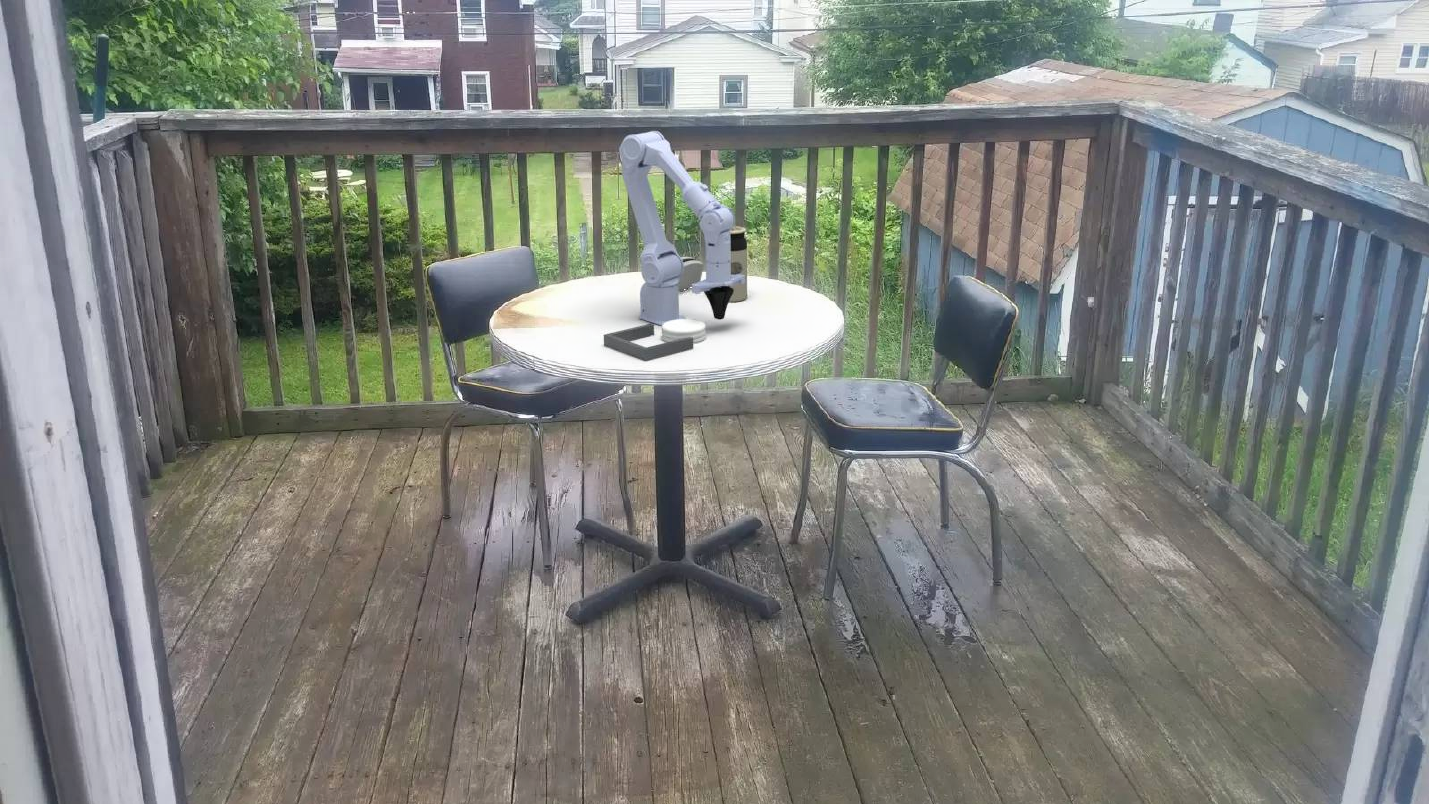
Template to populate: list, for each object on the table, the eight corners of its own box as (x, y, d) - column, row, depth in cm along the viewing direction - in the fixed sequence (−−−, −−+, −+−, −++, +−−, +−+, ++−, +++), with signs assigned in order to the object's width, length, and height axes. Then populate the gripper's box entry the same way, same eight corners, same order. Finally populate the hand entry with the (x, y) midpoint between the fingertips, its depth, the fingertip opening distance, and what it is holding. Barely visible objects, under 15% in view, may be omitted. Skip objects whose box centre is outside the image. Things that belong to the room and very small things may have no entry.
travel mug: (716, 294, 291) (715, 225, 285) (747, 294, 291) (747, 225, 284) (715, 302, 283) (714, 232, 277) (746, 302, 283) (746, 232, 277)
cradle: (604, 345, 250) (603, 334, 249) (651, 333, 258) (650, 323, 257) (645, 361, 239) (645, 349, 238) (693, 348, 247) (693, 337, 246)
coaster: (682, 330, 261) (681, 315, 260) (714, 338, 255) (714, 323, 254) (652, 340, 254) (652, 325, 253) (685, 348, 248) (685, 333, 247)
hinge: (685, 282, 304) (694, 249, 299) (698, 290, 302) (708, 257, 297) (646, 295, 291) (655, 261, 286) (660, 303, 289) (669, 269, 284)
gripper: (705, 268, 248) (706, 327, 253) (753, 258, 257) (753, 315, 261) (685, 263, 253) (686, 321, 258) (733, 254, 262) (734, 310, 267)
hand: (719, 318), depth 260 cm, fingers closed
